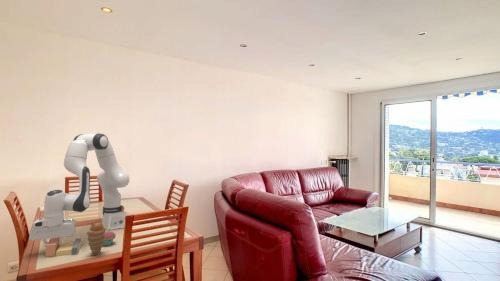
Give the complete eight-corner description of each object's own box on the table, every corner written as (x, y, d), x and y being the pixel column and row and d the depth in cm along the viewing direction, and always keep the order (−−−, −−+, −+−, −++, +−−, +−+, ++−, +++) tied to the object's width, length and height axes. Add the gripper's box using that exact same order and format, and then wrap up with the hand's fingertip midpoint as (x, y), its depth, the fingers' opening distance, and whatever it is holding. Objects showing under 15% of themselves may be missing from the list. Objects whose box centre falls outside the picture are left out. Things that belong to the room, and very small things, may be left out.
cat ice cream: (102, 249, 150) (103, 218, 150) (107, 254, 145) (108, 221, 145) (84, 254, 143) (85, 221, 143) (89, 259, 138) (90, 224, 138)
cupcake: (97, 243, 158) (98, 223, 158) (112, 240, 164) (113, 221, 164) (101, 248, 152) (102, 227, 152) (117, 244, 158) (118, 224, 158)
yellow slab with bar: (81, 244, 156) (81, 237, 156) (77, 254, 143) (77, 247, 143) (60, 246, 152) (60, 240, 152) (54, 257, 139) (55, 250, 139)
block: (59, 247, 151) (59, 236, 151) (54, 255, 140) (55, 244, 140) (51, 248, 149) (51, 237, 149) (45, 257, 138) (45, 245, 138)
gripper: (77, 217, 152) (76, 241, 152) (32, 220, 143) (31, 246, 143) (75, 220, 146) (74, 245, 146) (28, 224, 137) (27, 250, 137)
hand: (53, 245), depth 144 cm, fingers closed on block, 4 cm apart
